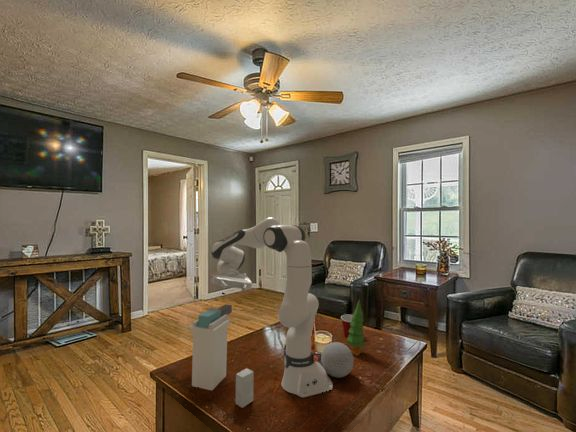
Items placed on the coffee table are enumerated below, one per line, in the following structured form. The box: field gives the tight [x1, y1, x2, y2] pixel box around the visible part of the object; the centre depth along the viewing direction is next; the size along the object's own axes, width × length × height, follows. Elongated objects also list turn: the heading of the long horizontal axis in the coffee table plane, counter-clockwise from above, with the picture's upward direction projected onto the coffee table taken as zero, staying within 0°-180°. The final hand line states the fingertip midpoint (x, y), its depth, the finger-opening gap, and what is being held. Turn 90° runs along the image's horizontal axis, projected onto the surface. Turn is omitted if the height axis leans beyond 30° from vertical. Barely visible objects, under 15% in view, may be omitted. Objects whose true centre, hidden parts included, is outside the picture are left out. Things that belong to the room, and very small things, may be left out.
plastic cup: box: [340, 314, 353, 339], centre depth 184 cm, size 11×11×12 cm
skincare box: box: [235, 367, 255, 409], centre depth 117 cm, size 6×4×12 cm
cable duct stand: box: [189, 314, 232, 391], centre depth 132 cm, size 14×12×28 cm
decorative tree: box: [346, 298, 365, 355], centre depth 163 cm, size 10×9×30 cm
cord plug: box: [197, 304, 233, 328], centre depth 137 cm, size 22×5×5 cm, turn 163°
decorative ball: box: [320, 341, 355, 379], centre depth 139 cm, size 15×15×15 cm
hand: (235, 288), depth 141 cm, fingers open, 8 cm apart
